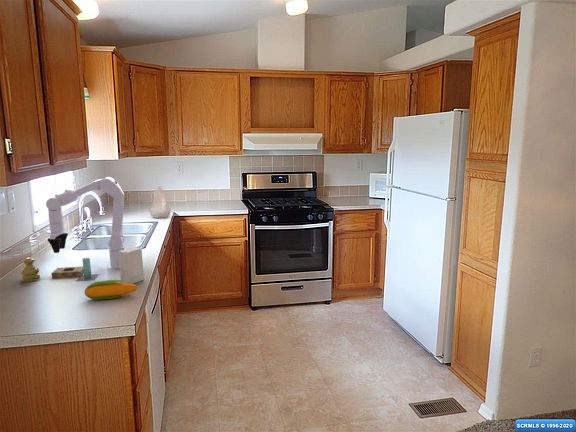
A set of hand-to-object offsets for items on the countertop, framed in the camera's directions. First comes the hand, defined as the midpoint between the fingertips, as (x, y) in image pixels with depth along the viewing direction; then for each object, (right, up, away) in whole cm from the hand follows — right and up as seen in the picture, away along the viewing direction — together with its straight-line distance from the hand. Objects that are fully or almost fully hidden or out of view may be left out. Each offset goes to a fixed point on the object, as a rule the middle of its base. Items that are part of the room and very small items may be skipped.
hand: (59, 250), depth 203 cm
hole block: (+7, -11, -6) cm, 15 cm away
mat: (+18, -12, -9) cm, 23 cm away
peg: (+18, -11, -9) cm, 23 cm away
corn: (+38, -16, -32) cm, 53 cm away
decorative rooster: (+8, +14, +134) cm, 135 cm away
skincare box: (+40, -13, -14) cm, 44 cm away
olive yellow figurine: (-7, -12, -10) cm, 18 cm away
